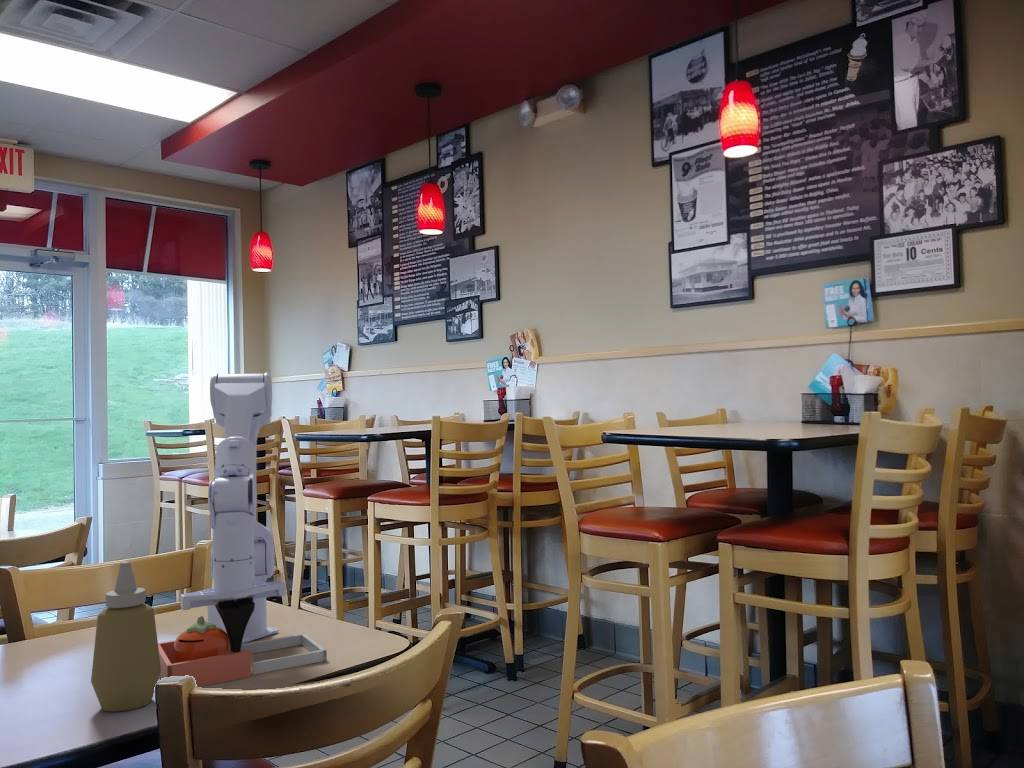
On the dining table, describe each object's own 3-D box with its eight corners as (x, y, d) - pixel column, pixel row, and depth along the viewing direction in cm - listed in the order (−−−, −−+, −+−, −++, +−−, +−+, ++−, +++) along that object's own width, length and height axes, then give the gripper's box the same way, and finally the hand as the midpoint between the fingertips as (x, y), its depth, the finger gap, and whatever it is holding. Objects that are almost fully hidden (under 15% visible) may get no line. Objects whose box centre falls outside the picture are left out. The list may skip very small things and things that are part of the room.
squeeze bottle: (107, 695, 105) (106, 558, 106) (170, 691, 106) (168, 555, 107) (79, 718, 97) (78, 570, 98) (147, 714, 98) (146, 567, 99)
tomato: (163, 680, 111) (161, 622, 111) (192, 663, 118) (190, 609, 118) (212, 681, 110) (211, 622, 110) (238, 664, 117) (237, 609, 117)
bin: (231, 654, 122) (231, 631, 122) (251, 676, 111) (250, 651, 111) (154, 667, 117) (154, 643, 117) (167, 692, 106) (167, 665, 106)
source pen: (304, 642, 127) (304, 633, 127) (326, 660, 118) (326, 650, 118) (235, 654, 122) (235, 645, 122) (253, 674, 112) (253, 663, 112)
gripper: (185, 568, 110) (187, 668, 109) (290, 556, 117) (292, 649, 117) (177, 561, 116) (178, 655, 115) (278, 549, 123) (279, 638, 123)
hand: (235, 651), depth 116 cm, fingers closed
